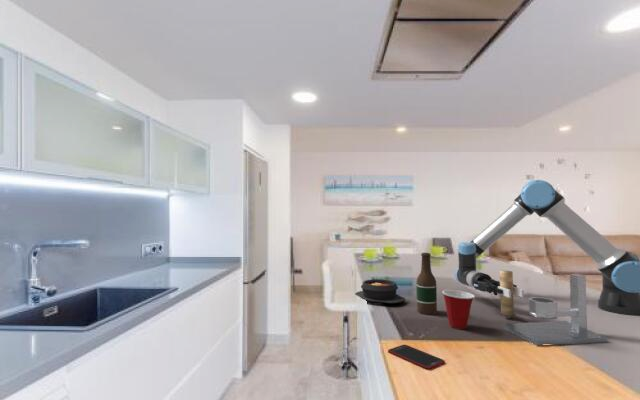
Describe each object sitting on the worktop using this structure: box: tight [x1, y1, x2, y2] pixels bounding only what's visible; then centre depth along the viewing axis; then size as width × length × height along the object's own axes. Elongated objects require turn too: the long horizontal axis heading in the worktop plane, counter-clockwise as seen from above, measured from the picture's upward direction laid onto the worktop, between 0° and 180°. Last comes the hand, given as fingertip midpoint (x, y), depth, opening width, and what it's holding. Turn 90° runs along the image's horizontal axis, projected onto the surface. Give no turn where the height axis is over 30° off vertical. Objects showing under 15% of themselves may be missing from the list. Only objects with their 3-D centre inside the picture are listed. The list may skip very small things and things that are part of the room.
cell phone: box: [387, 344, 446, 371], centre depth 98 cm, size 8×15×1 cm, turn 35°
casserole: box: [354, 278, 406, 304], centre depth 160 cm, size 25×19×8 cm
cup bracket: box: [502, 273, 608, 346], centre depth 115 cm, size 24×16×20 cm, turn 97°
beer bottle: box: [416, 252, 438, 316], centre depth 141 cm, size 8×8×24 cm
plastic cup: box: [442, 289, 475, 330], centre depth 124 cm, size 11×11×12 cm
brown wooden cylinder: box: [499, 270, 515, 316], centre depth 132 cm, size 4×4×16 cm
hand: (516, 293), depth 127 cm, fingers closed on brown wooden cylinder, 4 cm apart
